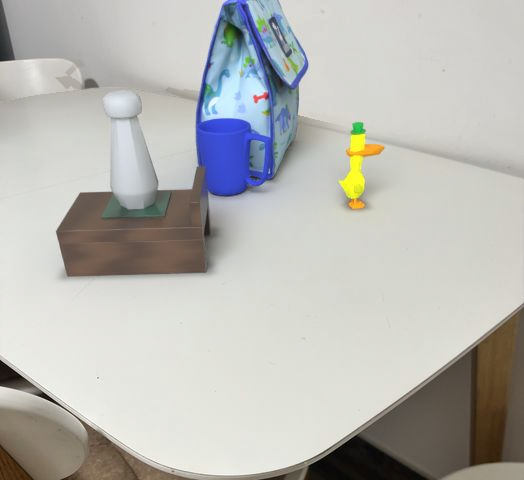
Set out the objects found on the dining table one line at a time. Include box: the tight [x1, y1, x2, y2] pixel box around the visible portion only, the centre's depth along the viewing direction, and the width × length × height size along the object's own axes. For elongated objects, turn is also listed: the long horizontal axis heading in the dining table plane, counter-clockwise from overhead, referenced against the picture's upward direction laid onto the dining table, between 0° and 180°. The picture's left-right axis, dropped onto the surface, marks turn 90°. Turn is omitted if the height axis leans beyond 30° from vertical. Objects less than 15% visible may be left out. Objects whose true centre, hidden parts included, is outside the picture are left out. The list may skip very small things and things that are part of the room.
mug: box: [195, 118, 272, 197], centre depth 87 cm, size 8×12×10 cm
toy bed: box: [55, 166, 212, 277], centre depth 72 cm, size 17×12×9 cm
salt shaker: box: [102, 89, 159, 209], centre depth 68 cm, size 6×6×13 cm
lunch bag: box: [195, 0, 309, 181], centre depth 95 cm, size 22×17×26 cm
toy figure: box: [337, 121, 386, 210], centre depth 81 cm, size 7×4×12 cm, turn 106°
